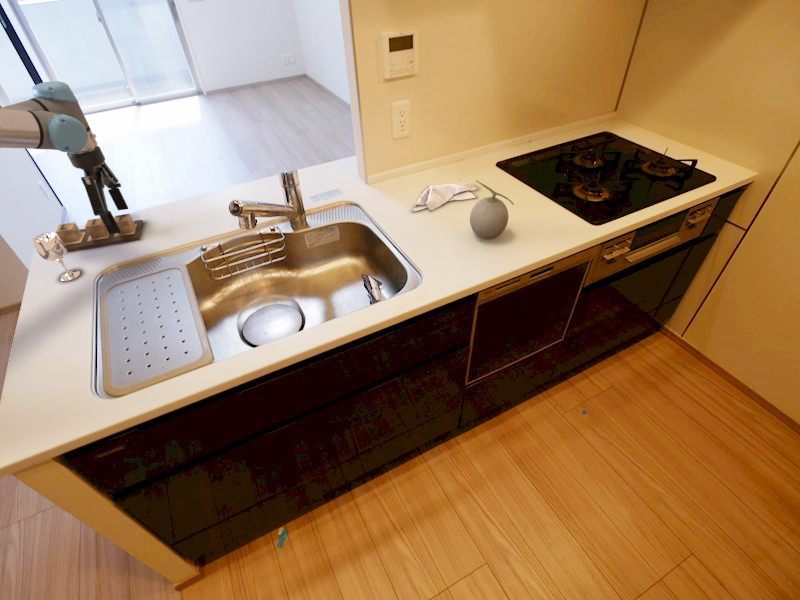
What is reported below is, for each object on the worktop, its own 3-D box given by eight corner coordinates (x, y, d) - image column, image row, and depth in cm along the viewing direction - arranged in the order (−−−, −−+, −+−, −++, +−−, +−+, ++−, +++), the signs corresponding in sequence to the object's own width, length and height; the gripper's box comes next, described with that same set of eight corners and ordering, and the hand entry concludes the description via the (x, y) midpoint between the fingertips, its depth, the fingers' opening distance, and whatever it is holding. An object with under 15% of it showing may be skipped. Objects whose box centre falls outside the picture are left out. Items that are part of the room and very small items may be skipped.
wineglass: (57, 285, 109) (29, 246, 101) (58, 272, 113) (31, 234, 105) (82, 278, 111) (57, 240, 103) (83, 266, 115) (58, 228, 106)
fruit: (509, 246, 119) (519, 198, 109) (468, 244, 120) (474, 197, 110) (506, 226, 127) (515, 179, 117) (467, 224, 128) (472, 178, 118)
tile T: (118, 234, 124) (112, 222, 121) (120, 227, 127) (114, 215, 124) (133, 232, 125) (127, 220, 122) (135, 225, 128) (129, 213, 125)
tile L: (63, 243, 121) (55, 231, 118) (66, 236, 124) (59, 224, 121) (78, 241, 122) (71, 229, 119) (82, 233, 124) (74, 221, 122)
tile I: (91, 238, 122) (84, 226, 120) (94, 231, 125) (87, 219, 123) (107, 236, 123) (100, 224, 121) (109, 229, 126) (102, 217, 123)
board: (54, 254, 119) (52, 251, 118) (63, 235, 126) (61, 232, 125) (139, 239, 124) (138, 236, 123) (143, 222, 131) (142, 219, 130)
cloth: (464, 178, 150) (465, 172, 148) (486, 196, 140) (487, 189, 139) (397, 195, 141) (397, 188, 140) (416, 214, 132) (416, 208, 131)
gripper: (87, 166, 101) (126, 241, 115) (107, 130, 119) (139, 198, 133) (52, 171, 100) (96, 246, 114) (77, 133, 117) (113, 202, 131)
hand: (119, 220), depth 123 cm, fingers open, 13 cm apart
